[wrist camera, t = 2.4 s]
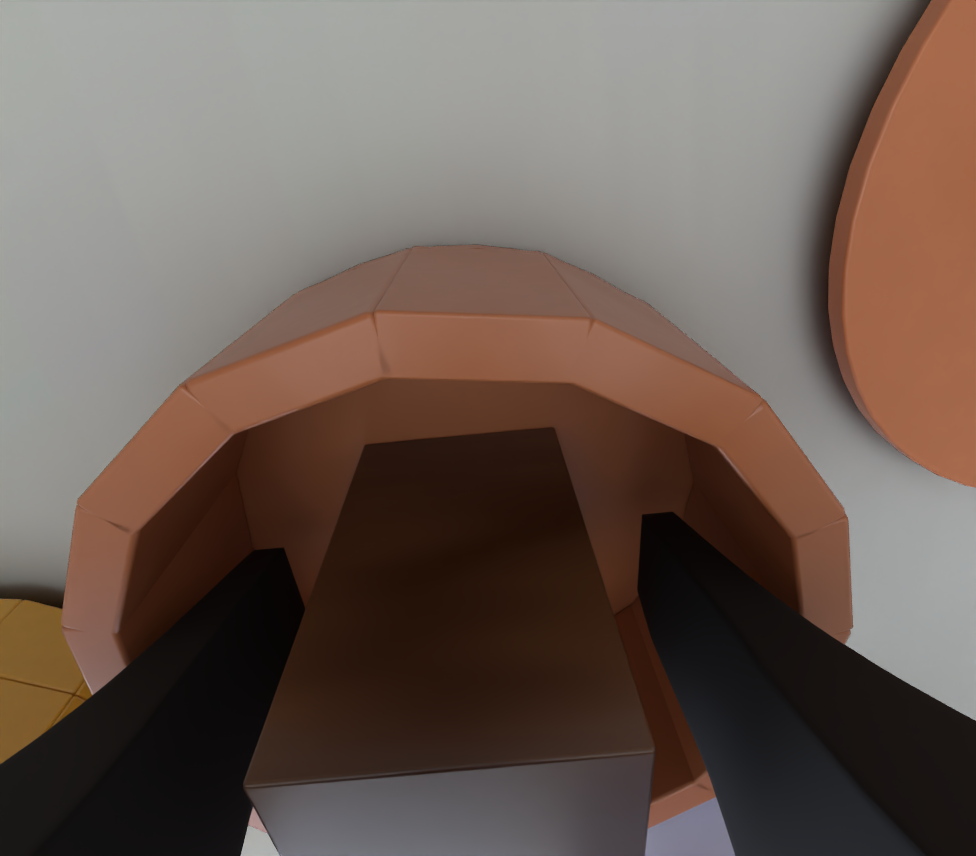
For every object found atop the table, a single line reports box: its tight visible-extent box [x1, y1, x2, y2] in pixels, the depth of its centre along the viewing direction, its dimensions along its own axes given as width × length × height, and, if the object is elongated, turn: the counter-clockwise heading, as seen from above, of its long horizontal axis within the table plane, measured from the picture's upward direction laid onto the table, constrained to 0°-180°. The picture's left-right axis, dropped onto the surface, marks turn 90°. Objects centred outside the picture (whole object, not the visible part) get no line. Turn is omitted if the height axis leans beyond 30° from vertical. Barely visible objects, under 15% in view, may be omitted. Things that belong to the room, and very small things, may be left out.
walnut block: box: [243, 427, 656, 856], centre depth 9 cm, size 4×4×7 cm
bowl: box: [0, 599, 92, 764], centre depth 14 cm, size 12×12×4 cm
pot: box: [61, 245, 853, 834], centre depth 11 cm, size 12×12×5 cm
